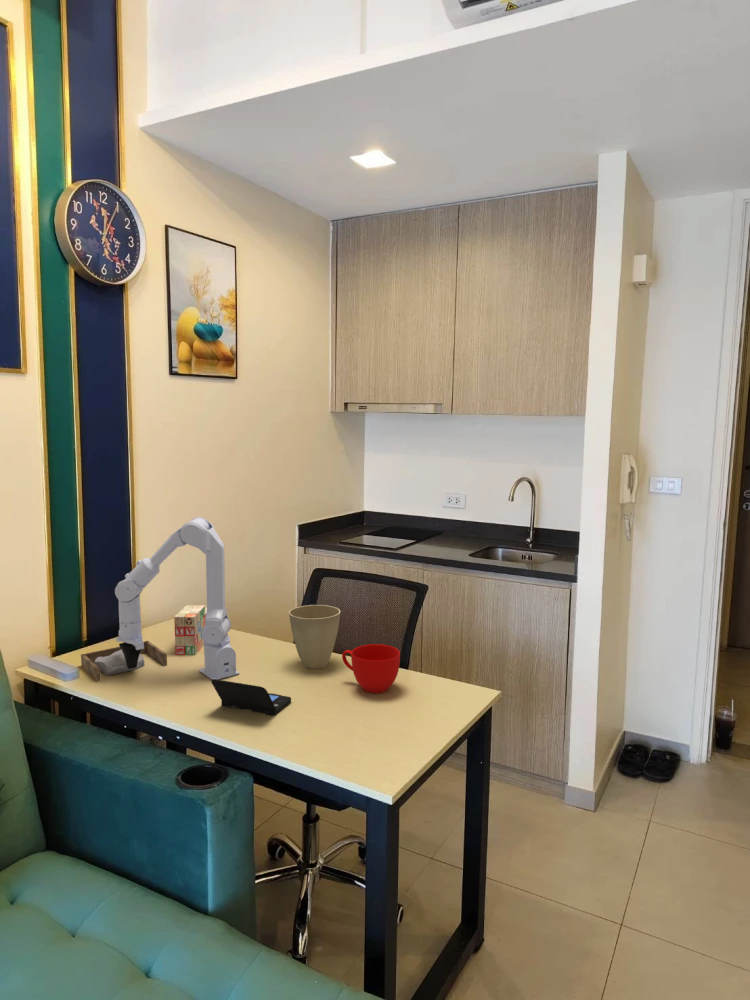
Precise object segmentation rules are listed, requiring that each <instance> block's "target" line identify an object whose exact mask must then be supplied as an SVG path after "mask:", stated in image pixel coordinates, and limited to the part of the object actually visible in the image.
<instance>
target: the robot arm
mask: <svg viewBox="0 0 750 1000" xmlns="http://www.w3.org/2000/svg"><path fill="white" fill-rule="evenodd" d="M186 545H189V546H191V547H194V548H196V549H198V550H200V551H201V552H202V553H204V555H205V565H206V566H205V567H206V568H205V569H206V570H205V571H206V576H205V577H206V607H207V613H206V618H205V626H204V628H203V630H202V637H203V640H204V646H203V649H204V650H203V655H204V657H203V659H204V667H202V668H199V669H198V670H199V672H200V673H201V674H203V675H205V676H206V677H207V678H209V679H210V680H212V679H217V680H222V679H226V678H228V677H232V676H237V675H239V674H240V671H238V670H237V653H236V650H235V649H234V648H233V647H232V645H231V638H230V635H229V631H230V630H231V627H232V624H231V620H230V618H229V616H228V609H227V608H226V584H225V583H226V582H225V581H226V577H225V576H226V575H225V573H226V572H225V570H226V569H225V545H224V542H223V541H222V539H221V538H220V536H219V535H218V533H217V531H216V529H215V526H214V524H212V523H211V522H210V521H208V520H207V519H206V518H204V517H200V516H198V517H194V518H192V519H191V520H189V521H188V522H185V523H184V524H183V525H182V526H181V527H180V528H178V529H177V530H176V531H174V532H173V533H172V534H170V536H169V537H168V538H167V539H166V540H165V541H164V543H163V544H162V545H161V546H160V547H159V548H158V549H157V550H156V551H155V552H154V554H153V555H152V556H151V557H150V558H149V557H145V558H143V559H142V560H141V559H138V561H137V562H135V565H136V566H134V568H133V569H132V570H131V571H130V572H128V573H126V574H125V575H124V577H125V579H123V580H121V581H119V582H118V583H117V585H116V586H115V588H114V594H115V596H116V599H117V600H118V618H119V619H118V620H119V621H118V622H119V630H118V637H115V641H116V642H118V643H119V644H118V647H120V648H121V649H122V651H123V654H124V657H125V660H126V664H127V667H128V668H129V669H132V668H136V667H137V663H138V658H139V654H140V652H141V650H142V649H144V641H143V634H142V615H141V614H142V613H141V612H142V611H141V597H140V596H141V594H142V592H143V590H144V589H145V588H146V587H147V586H148V585H149V584H150V582H152V580H153V579H154V578H155V577H156V576H157V575H158V574H159V573H160V565H161V564H163V563H164V561H165V560H166V559H168V557H169V556H170V555H172V553H173V552H175V550H176V549H178V548H181V547H184V546H186Z"/></svg>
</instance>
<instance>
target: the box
mask: <svg viewBox="0 0 750 1000" xmlns="http://www.w3.org/2000/svg"><path fill="white" fill-rule="evenodd" d="M143 642H144V649H142V650H141V652H140V654H141V655H144V654H148V655H149V656H150V657H152V658H153V659H154V660H156V662H159V664H161V665H163V667H166V666H168V661H167V660H168V657H167V656H168V655H167V652H165V651H163V650H162V649H161V648H159V647H158V646H156V645H155V644H154V643H152V642H150V640H145V641H143ZM119 650H121V648H120V646H116V647H110V648H106V649H101V650H96V651H91V652H87V653H86V652H85V653H81V654H80V659H81V662H80V663H81V667H82V669H84V670H85V671H86V672H87V673H88V674H89V675H90V676H91V677H92V678H94V680H95V681H96V682H101V672H100V668H99V667H98V666H97V665H95V664H94V662H95V660H96V659H97V658H98V657H106V656H110V655H111V654H113V653H114V652H117V651H119Z"/></svg>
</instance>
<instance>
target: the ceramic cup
mask: <svg viewBox="0 0 750 1000" xmlns="http://www.w3.org/2000/svg"><path fill="white" fill-rule="evenodd" d="M347 654H349V655H351V659H350V660H351V664H350V663H349V661H348V659H347V656H346V655H347ZM341 658H342V662H343V664H344V665H345V666H346V667H347V668H348V669H349V670H350V671H352V672H353V675H354V678H355V680H356V682H357V683H358V684H359V686H360V687H361V688H362V689H363V690H364V691H365V692H367V693H370V694H381V693H385V692H387V691H388V690H389V688H390V687H391V686H392V685H393V684H394V682H395V681H396V679H397V677H398V674H399V670H400V663H401V652H400V650H399V649H398V648H396V647H394V646H392V645H387V644H379V643H378V644H377V643H376V644H375V643H372V644H371V643H370V644H364V645H360V646H357V647H355V648H353V649H352V650H350V649H347V650H345V651H343V652H342V655H341Z"/></svg>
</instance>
